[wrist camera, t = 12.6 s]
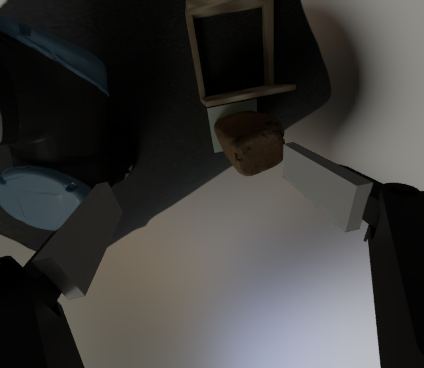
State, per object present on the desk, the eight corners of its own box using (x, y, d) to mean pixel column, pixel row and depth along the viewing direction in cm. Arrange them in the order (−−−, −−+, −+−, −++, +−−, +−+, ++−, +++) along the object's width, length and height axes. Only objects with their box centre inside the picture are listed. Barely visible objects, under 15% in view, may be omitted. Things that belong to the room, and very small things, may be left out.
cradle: (200, 101, 43) (207, 106, 33) (185, 14, 36) (186, -15, 25) (268, 88, 44) (295, 89, 34) (266, 0, 37) (301, -34, 26)
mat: (214, 151, 50) (214, 152, 49) (207, 108, 44) (207, 108, 44) (257, 142, 50) (258, 143, 50) (255, 98, 45) (256, 98, 44)
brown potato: (219, 148, 49) (241, 184, 31) (209, 121, 45) (227, 143, 28) (258, 132, 48) (302, 159, 31) (251, 103, 45) (296, 115, 27)
